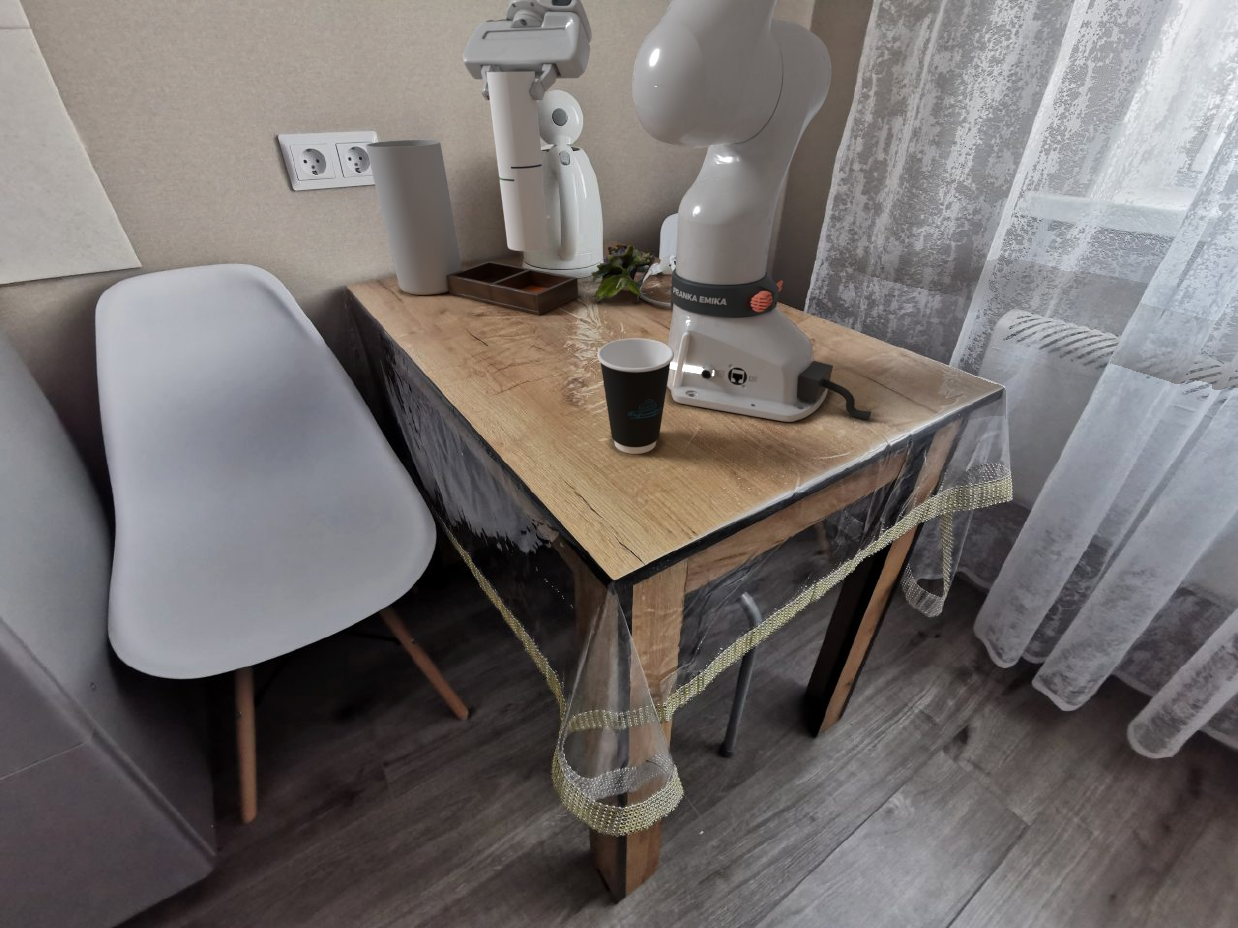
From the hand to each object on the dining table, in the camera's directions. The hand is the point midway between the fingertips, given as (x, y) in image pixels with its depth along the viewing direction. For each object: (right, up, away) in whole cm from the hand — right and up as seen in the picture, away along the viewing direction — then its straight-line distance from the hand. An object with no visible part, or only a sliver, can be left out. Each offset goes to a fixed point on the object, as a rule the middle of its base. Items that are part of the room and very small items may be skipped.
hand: (511, 97), depth 85 cm
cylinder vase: (-21, -20, +27) cm, 40 cm away
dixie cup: (+18, -54, -21) cm, 60 cm away
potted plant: (+18, -25, +20) cm, 36 cm away
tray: (-4, -24, +22) cm, 32 cm away
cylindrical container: (0, -18, +13) cm, 22 cm away
